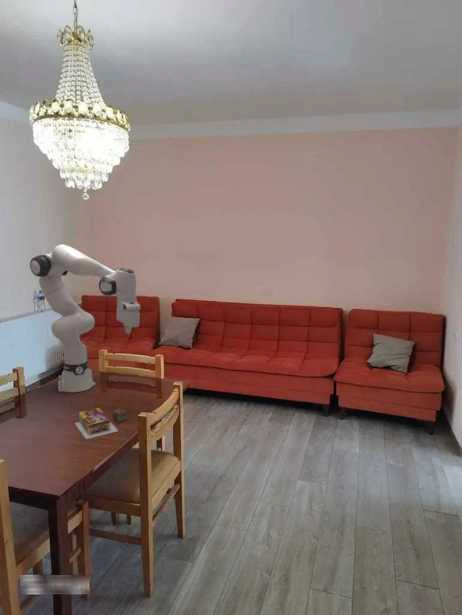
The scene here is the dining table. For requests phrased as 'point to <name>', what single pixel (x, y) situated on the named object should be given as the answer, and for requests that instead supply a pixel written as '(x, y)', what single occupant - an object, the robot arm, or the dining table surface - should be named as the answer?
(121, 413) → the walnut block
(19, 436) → the dining table surface
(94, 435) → the mat
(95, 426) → the candy box
